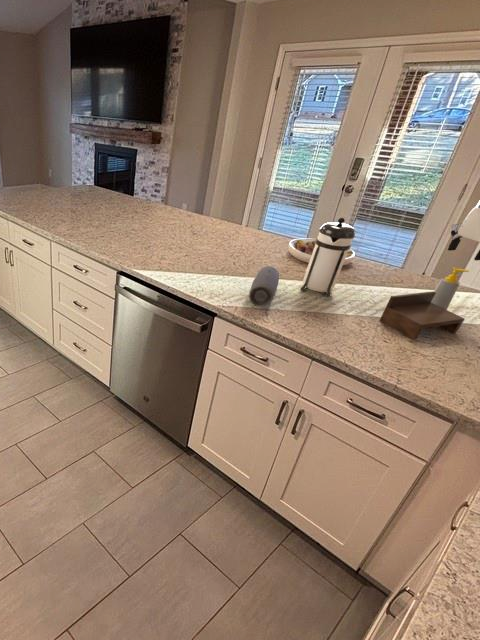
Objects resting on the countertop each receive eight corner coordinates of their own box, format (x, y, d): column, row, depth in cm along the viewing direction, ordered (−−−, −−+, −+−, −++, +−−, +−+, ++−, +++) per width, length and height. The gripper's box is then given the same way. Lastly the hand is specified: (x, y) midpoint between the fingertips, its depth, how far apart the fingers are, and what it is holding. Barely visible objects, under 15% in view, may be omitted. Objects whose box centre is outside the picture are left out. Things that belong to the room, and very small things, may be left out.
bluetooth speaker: (253, 285, 175) (259, 262, 169) (276, 290, 172) (283, 267, 166) (244, 306, 158) (250, 282, 152) (269, 312, 154) (277, 287, 149)
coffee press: (345, 297, 169) (376, 223, 152) (310, 298, 166) (337, 223, 150) (320, 279, 183) (345, 210, 166) (287, 281, 180) (309, 211, 164)
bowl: (302, 243, 225) (306, 229, 220) (360, 259, 207) (366, 244, 202) (275, 255, 207) (280, 240, 203) (336, 274, 189) (343, 257, 185)
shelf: (456, 333, 146) (471, 308, 141) (413, 339, 141) (427, 314, 136) (420, 315, 157) (433, 291, 152) (379, 320, 152) (391, 295, 147)
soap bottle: (445, 317, 156) (470, 273, 146) (423, 312, 159) (446, 268, 150) (444, 311, 161) (468, 267, 151) (422, 306, 164) (445, 263, 154)
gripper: (528, 213, 132) (496, 263, 142) (474, 199, 146) (448, 246, 156) (511, 213, 131) (481, 264, 140) (458, 199, 144) (434, 247, 154)
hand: (464, 254), depth 148 cm, fingers open, 9 cm apart
